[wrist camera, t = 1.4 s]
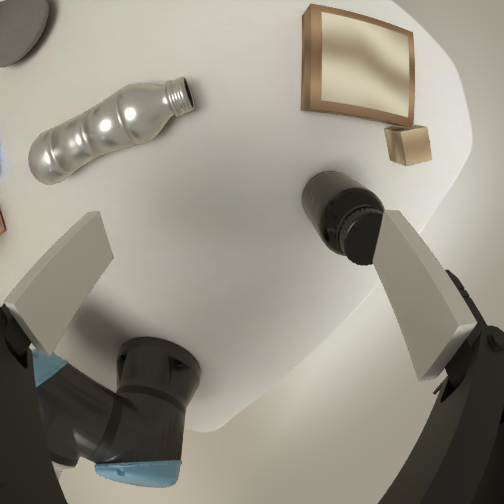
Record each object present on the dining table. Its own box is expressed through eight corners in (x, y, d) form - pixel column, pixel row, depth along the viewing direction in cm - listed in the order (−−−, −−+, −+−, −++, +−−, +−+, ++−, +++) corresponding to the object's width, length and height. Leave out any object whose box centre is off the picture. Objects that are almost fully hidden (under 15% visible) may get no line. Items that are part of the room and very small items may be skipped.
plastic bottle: (47, 137, 25) (186, 69, 24) (61, 183, 28) (202, 124, 27) (16, 144, 19) (173, 55, 18) (32, 197, 22) (192, 123, 21)
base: (394, 125, 27) (414, 127, 23) (300, 110, 26) (310, 109, 22) (395, 38, 21) (414, 32, 18) (302, 15, 21) (311, 2, 17)
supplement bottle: (351, 165, 29) (406, 194, 19) (356, 218, 32) (403, 266, 22) (296, 175, 30) (328, 209, 19) (304, 229, 33) (334, 285, 22)
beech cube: (413, 154, 29) (431, 159, 25) (389, 160, 29) (406, 166, 26) (408, 124, 27) (426, 126, 23) (383, 128, 27) (400, 131, 24)
